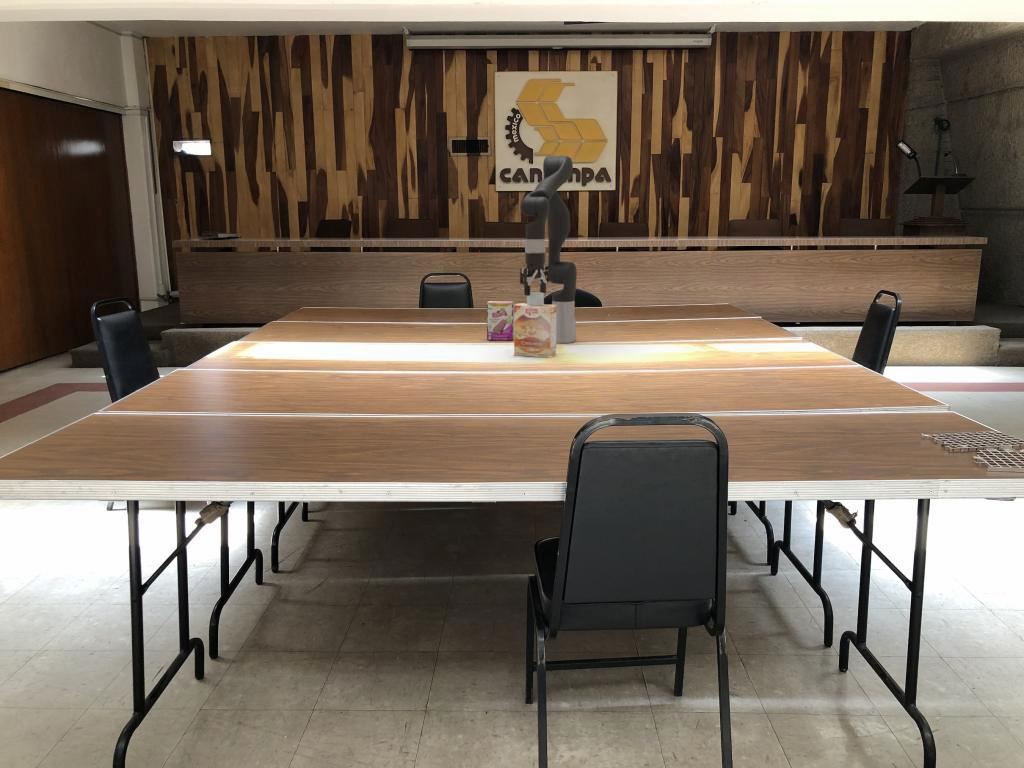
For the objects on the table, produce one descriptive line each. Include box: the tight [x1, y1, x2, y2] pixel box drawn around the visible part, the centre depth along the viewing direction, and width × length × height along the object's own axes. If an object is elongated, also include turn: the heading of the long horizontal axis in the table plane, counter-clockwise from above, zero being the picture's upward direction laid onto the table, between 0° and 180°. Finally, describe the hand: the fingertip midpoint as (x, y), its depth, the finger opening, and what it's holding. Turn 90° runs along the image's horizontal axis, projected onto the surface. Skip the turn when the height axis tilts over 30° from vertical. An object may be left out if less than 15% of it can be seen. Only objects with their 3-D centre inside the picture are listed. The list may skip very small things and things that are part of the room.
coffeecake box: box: [513, 302, 557, 358], centre depth 325 cm, size 15×7×20 cm, turn 67°
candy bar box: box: [486, 300, 515, 341], centre depth 359 cm, size 11×5×16 cm, turn 84°
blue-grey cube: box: [526, 291, 545, 306], centre depth 322 cm, size 4×4×4 cm
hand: (535, 294), depth 322 cm, fingers open, 8 cm apart
